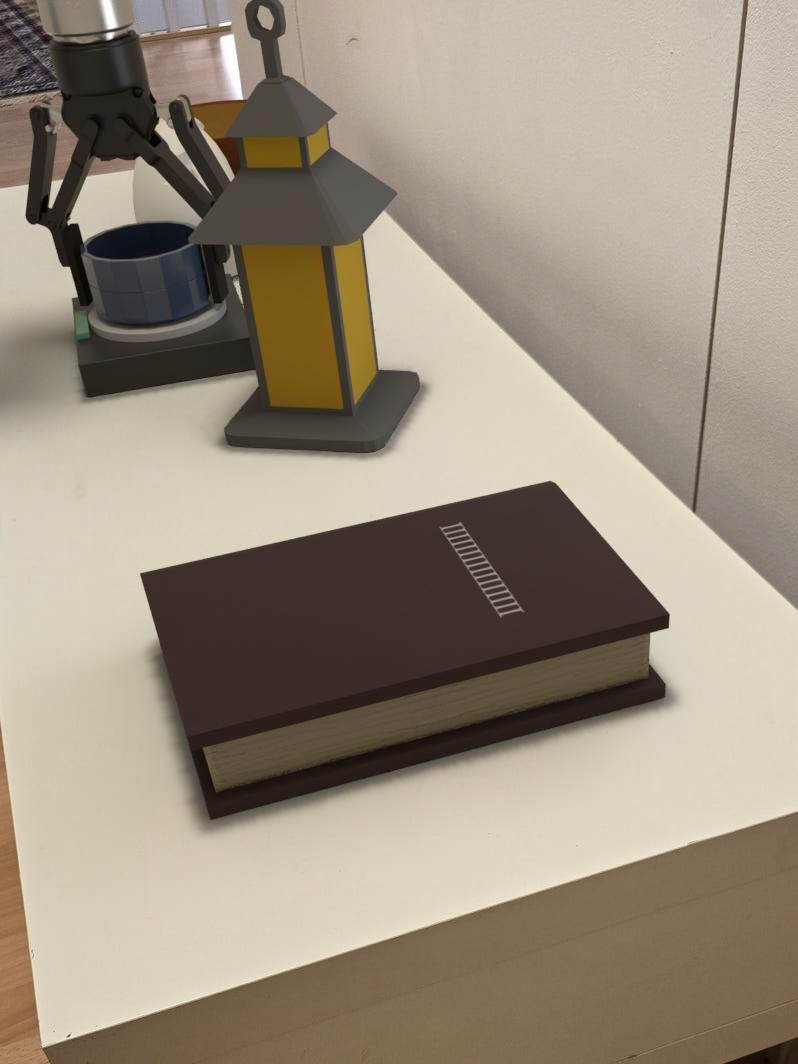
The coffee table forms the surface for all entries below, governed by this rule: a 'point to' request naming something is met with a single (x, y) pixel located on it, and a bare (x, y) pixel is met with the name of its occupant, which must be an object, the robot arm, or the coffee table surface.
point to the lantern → (303, 271)
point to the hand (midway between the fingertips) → (154, 300)
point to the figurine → (159, 196)
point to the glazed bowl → (146, 273)
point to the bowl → (221, 126)
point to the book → (399, 643)
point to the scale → (161, 347)
